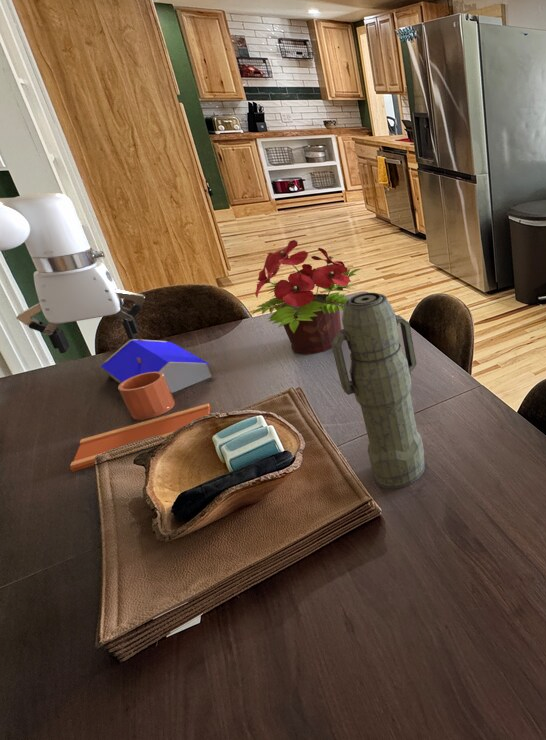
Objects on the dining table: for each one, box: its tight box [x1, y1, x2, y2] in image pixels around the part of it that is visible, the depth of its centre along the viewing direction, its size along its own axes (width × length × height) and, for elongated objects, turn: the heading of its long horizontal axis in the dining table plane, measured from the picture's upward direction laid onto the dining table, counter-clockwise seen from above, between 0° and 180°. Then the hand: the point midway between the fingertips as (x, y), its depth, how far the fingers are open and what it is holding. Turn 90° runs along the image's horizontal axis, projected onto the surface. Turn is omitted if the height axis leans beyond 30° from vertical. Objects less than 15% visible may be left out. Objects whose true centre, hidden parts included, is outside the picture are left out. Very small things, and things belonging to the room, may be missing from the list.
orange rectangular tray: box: [69, 402, 211, 473], centre depth 96 cm, size 20×10×1 cm, turn 126°
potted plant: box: [250, 239, 363, 355], centre depth 124 cm, size 30×27×30 cm
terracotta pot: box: [117, 372, 176, 421], centre depth 102 cm, size 7×7×8 cm
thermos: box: [331, 292, 426, 490], centre depth 80 cm, size 9×12×35 cm
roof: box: [100, 338, 212, 394], centre depth 114 cm, size 22×14×7 cm, turn 60°
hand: (100, 343), depth 94 cm, fingers open, 9 cm apart
